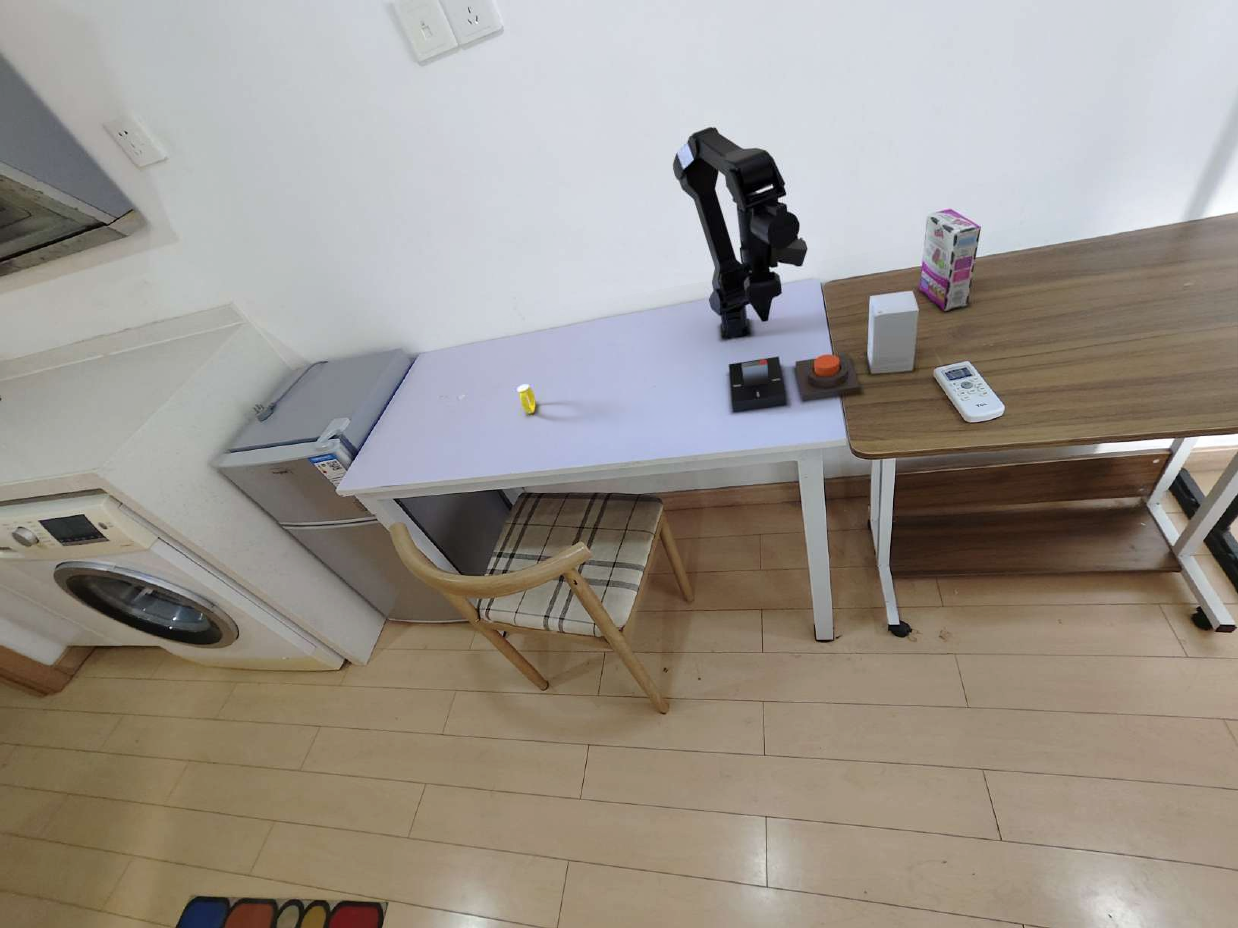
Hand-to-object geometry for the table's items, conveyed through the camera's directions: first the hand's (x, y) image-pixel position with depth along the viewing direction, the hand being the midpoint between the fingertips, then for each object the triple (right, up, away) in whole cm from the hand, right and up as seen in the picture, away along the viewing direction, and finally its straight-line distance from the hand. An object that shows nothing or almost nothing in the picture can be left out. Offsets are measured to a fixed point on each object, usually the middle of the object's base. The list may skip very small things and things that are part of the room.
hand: (763, 309), depth 113 cm
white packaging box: (+24, -11, -2) cm, 26 cm away
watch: (-48, -18, +17) cm, 54 cm away
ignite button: (+11, -13, -4) cm, 17 cm away
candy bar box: (+40, +5, +9) cm, 41 cm away
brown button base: (+12, -14, -2) cm, 18 cm away
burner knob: (-2, -15, -1) cm, 15 cm away
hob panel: (-1, -15, +2) cm, 16 cm away
